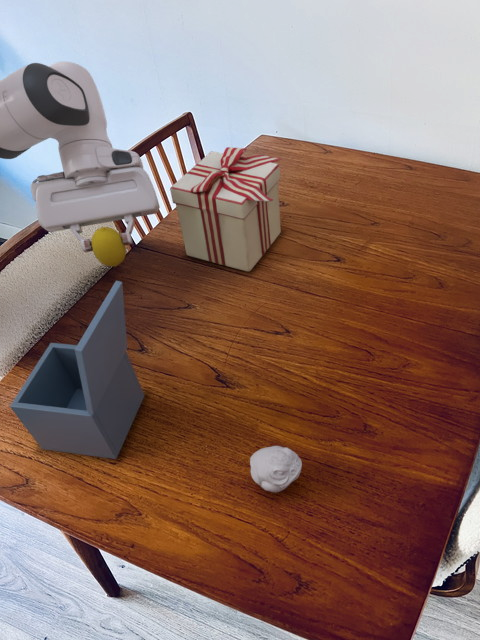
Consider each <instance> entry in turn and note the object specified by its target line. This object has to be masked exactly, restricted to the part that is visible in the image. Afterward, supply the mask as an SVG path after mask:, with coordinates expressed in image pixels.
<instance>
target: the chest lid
mask: <svg viewBox="0 0 480 640" xmlns="http://www.w3.org/2000/svg"><path fill="white" fill-rule="evenodd" d="M123 287H124V286H123V282H122V281H120V280H115V282H114V283H113V285H112V287H111V289H110V290H109V292H108V294H107V295H106V297H105V298H104V300H103V302H102V303H101V305H100V307H99V308H98V309H97V311H96V313H95V315H94V317H93V318H92V320H91V322H90V323H89V325H88V327H87V328H86V330H85V332H84V333H83V335H82V337H81V338H80V340H79V342H78V344H76V345H77V347H76V348H75V353H76V358H77V363H78V368H79V373H80V378H81V383H82V388H83V393H84V398H85V403H86V408H87V413H89V414H94V413H95V411H96V409H97V407H98V405H99V403H100V401H101V399H102V397H103V395H104V393H105V391H106V389H107V387H108V385H109V383H110V381H111V379H112V377H113V376H114V374H115V372H116V370H117V368H118V366H119V364H120V362H121V360H122V358H123V356H124V354H125V352H127V351H128V336H127V324H126V313H125V311H126V310H125V301H124V300H125V299H124V288H123Z"/></svg>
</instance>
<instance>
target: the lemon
mask: <svg viewBox="0 0 480 640" xmlns="http://www.w3.org/2000/svg"><path fill="white" fill-rule="evenodd" d="M122 239H123V238H122V237H121V233H119V232H118V231H117V229H114V228H112V227H108V226H101V227H99V228H97V229H96V230H95V231H94V233H93V234H92V236H91V239H90V241H91V243H92V249H93V251H92V253H93V255H94V256H95V258H96V260H97V261H98V262H99V263H101V264H102V265H104V266H107V267H117V266H118V265H120V264H122V262H124V260H125V258H126V256H127V248H126V245H124V244H123V241H122Z"/></svg>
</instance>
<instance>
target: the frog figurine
mask: <svg viewBox="0 0 480 640" xmlns="http://www.w3.org/2000/svg"><path fill="white" fill-rule="evenodd" d="M249 465H250V475H251V478H252V480H253V481H254V482H255V483H256V484H257V485H258V486H260V488H261V489H263V490H264V491H266V492H271V493H279V492H282V491H284V490H286V489H287V488H288V487H289V486H290V484H291V483H293V482H294V481H296V480H297V479H298V478H299V477H300V474H301V473H302V466H303V463H302V459H301V458H300V457H299V455H298V454H297V453H296V452H295V451H293V450H292V449H291V448H289V447H287V446H286V447H285V446H284V447H283V446H281V445H272V446H267V447H263V448H260V449H258V450H257V451H255V452H253V454H252V455H251V456H250V459H249Z"/></svg>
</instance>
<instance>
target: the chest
mask: <svg viewBox="0 0 480 640" xmlns="http://www.w3.org/2000/svg"><path fill="white" fill-rule="evenodd" d="M77 345H78V344H70V343H69V344H68V343H59V342H58V343H57V342H50V343H49V345H48V346H47V348H46V349H45V351H44V352H43V354H42V356H41V357H40V358H39V360H38V362H37V363H36V365H35V366H34V368H33V369H32V371H31V373H30V374H29V375H28V377H27V379H26V380H25V382H24V384H23V385H22V387H21V388H20V389H19V391H18V393H17V394H16V395H15V397H14V399H13V400H12V402H11V404H10V405H9V407H10V409H11V410H12V412H13V413H14V414H15V416H16V417H17V418H18V420H19V421H20V423H22V425H23V426H24V427H25V429H26V430H27V431H28V433H29V434H30V436H31V437H32V438H33V440H34V441H35V442H36V443H37V445H38V446H39V448H40V449H41V450H44V451H45V450H46V451H51V452H59V453H68V454H74V455H82V456H90V457H96V458H104V459H113V460H117V458H118V457H119V454H120V452H121V450H122V447H123V445H124V443H125V440H126V438H127V436H128V434H129V431H130V429H131V427H132V425H133V423H134V421H135V418H136V416H137V414H138V411H139V410H140V408H141V404H142V403H143V401H144V399H145V393H144V390H143V388H142V386H141V383H140V381H139V379H138V376H137V374H136V371H135V369H134V367H133V364H132V361H131V359H130V357H129V355H128V353H127V351H126V352H125V354H124V356H123V358H122V360H121V362H120V364H119V366H118V368H117V370H116V372H115V374H114V376H113V377H112V379H111V381H110V383H109V385H108V387H107V389H106V391H105V393H104V395H103V397H102V399H101V401H100V403H99V405H98V407H97V409H96V411H95V413H94V414H89V413H87V408H86V403H85V398H84V393H83V388H82V383H81V378H80V373H79V368H78V363H77V358H76V353H75V348H76V347H77Z"/></svg>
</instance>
